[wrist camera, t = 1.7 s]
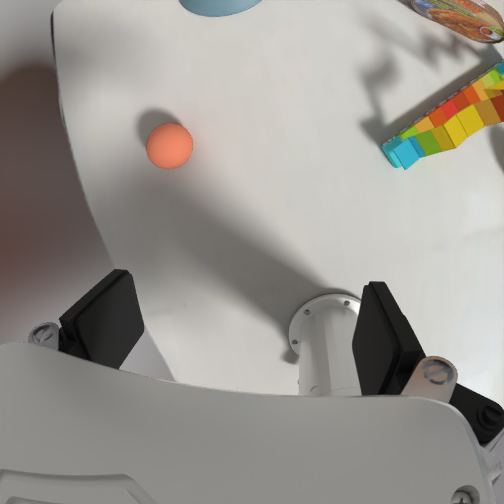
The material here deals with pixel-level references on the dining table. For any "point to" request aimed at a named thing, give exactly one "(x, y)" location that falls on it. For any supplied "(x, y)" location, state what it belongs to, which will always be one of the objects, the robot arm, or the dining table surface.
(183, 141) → the ball
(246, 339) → the dining table surface
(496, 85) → the chart
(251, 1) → the disc
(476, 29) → the tin
